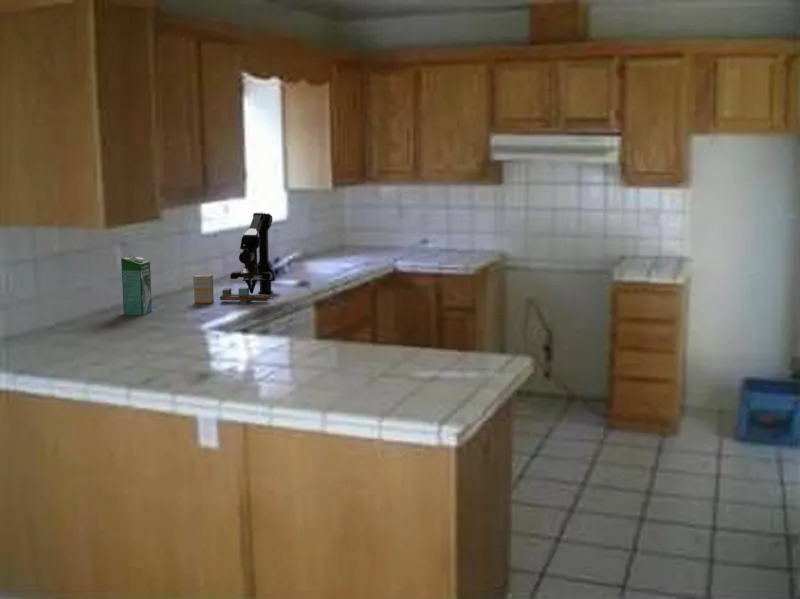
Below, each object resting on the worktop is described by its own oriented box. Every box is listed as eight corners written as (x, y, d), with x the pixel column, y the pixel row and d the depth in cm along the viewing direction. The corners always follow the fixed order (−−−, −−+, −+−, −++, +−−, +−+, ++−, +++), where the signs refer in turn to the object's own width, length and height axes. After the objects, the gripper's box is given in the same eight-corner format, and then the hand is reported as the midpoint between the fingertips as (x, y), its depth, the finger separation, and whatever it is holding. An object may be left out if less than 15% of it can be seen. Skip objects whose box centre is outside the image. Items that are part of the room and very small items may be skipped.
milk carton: (142, 315, 402) (140, 258, 397) (123, 314, 404) (120, 258, 399) (152, 311, 411) (149, 255, 406) (133, 310, 412) (131, 255, 408)
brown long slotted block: (224, 300, 438) (223, 287, 437) (270, 301, 437) (269, 288, 436) (219, 303, 429) (219, 290, 428) (266, 304, 428) (266, 291, 427)
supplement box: (214, 302, 434) (213, 274, 431) (211, 303, 429) (210, 276, 427) (197, 301, 435) (196, 274, 432) (193, 303, 430) (192, 275, 428)
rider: (240, 297, 435) (240, 286, 434) (249, 297, 435) (249, 287, 434) (238, 299, 431) (238, 288, 430) (247, 299, 430) (247, 288, 429)
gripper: (227, 263, 422) (228, 296, 425) (267, 263, 421) (268, 297, 424) (232, 259, 433) (233, 292, 436) (272, 260, 432) (272, 292, 435)
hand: (251, 293), depth 432 cm, fingers closed
